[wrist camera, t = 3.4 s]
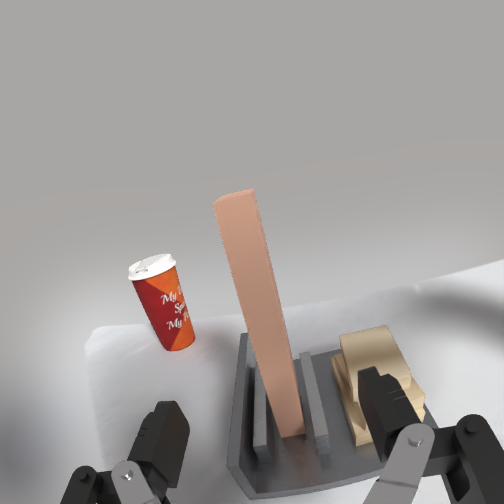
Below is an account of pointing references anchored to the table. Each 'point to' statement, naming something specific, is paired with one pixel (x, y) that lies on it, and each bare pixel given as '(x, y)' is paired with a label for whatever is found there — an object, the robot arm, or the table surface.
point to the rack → (299, 446)
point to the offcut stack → (364, 356)
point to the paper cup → (163, 300)
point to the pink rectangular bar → (261, 305)
